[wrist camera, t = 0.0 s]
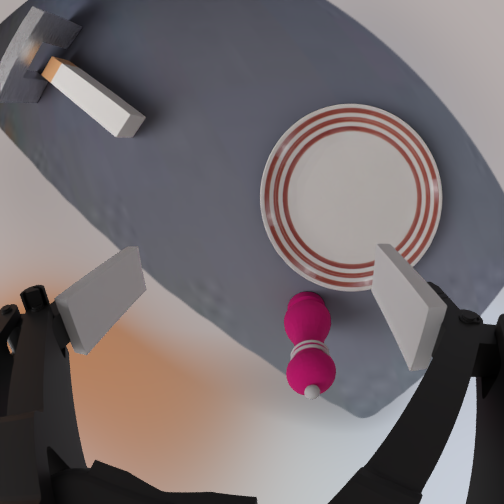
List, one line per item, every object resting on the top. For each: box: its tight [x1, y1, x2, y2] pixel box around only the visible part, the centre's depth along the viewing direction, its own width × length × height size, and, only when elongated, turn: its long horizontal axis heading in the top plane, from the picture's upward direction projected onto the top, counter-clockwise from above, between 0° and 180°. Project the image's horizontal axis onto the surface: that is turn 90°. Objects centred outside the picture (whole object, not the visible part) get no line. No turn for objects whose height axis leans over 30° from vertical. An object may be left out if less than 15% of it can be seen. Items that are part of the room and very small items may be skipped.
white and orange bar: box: [42, 56, 146, 138], centre depth 36 cm, size 24×4×5 cm, turn 50°
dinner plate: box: [260, 104, 442, 291], centre depth 39 cm, size 27×27×3 cm
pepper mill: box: [284, 292, 336, 399], centre depth 38 cm, size 7×7×20 cm
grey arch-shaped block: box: [0, 7, 82, 103], centre depth 31 cm, size 6×18×12 cm, turn 140°
